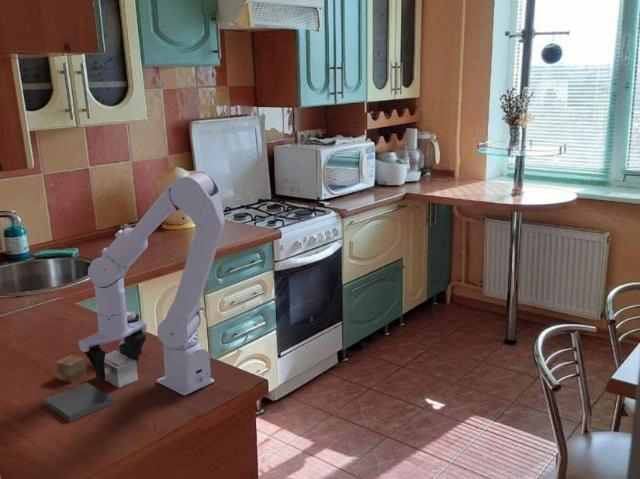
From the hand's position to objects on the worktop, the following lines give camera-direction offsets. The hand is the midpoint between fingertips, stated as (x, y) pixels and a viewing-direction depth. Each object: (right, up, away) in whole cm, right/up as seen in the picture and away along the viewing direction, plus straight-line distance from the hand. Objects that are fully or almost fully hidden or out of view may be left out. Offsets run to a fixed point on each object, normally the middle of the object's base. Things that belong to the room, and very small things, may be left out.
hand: (117, 371), depth 128 cm
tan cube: (-10, -1, +1) cm, 10 cm away
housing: (0, -2, 0) cm, 2 cm away
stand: (-4, -4, -10) cm, 12 cm away
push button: (-2, +1, +12) cm, 12 cm away
